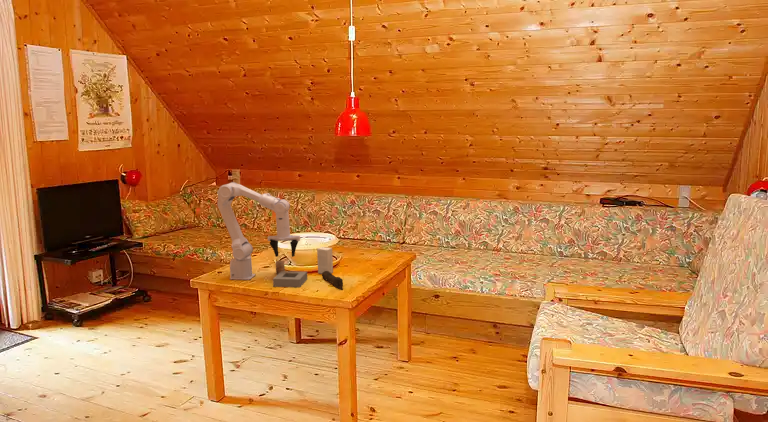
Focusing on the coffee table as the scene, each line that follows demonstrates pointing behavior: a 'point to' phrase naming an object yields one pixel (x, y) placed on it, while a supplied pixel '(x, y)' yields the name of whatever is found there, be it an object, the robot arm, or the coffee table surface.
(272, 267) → the coffee table surface
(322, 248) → the skincare box
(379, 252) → the coffee table surface
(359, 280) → the coffee table surface
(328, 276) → the hand tool
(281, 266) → the walnut peg
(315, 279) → the coffee table surface
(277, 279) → the socket stand
